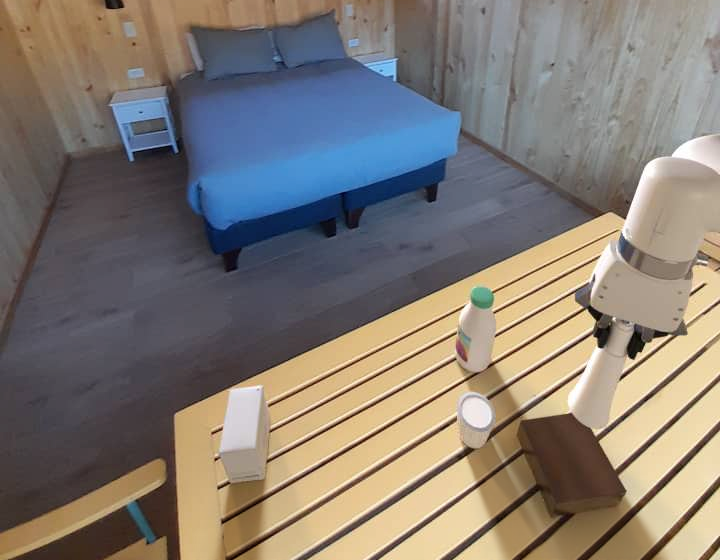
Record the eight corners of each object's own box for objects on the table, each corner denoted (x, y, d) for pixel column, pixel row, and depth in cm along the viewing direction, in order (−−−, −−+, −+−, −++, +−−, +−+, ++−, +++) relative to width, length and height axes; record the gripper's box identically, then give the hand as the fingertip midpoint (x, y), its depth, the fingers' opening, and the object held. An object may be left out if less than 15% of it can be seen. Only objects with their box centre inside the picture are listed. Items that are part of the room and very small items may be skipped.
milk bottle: (489, 345, 92) (501, 283, 83) (489, 377, 86) (503, 314, 76) (455, 337, 94) (463, 275, 85) (453, 368, 87) (461, 305, 78)
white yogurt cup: (446, 431, 77) (449, 410, 73) (466, 404, 81) (469, 383, 78) (478, 461, 72) (483, 441, 69) (497, 431, 77) (502, 410, 73)
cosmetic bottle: (613, 434, 63) (658, 344, 53) (571, 423, 64) (606, 333, 54) (603, 395, 68) (642, 306, 58) (564, 386, 69) (596, 297, 59)
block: (575, 426, 77) (581, 411, 75) (618, 506, 66) (627, 491, 64) (516, 435, 76) (520, 420, 74) (550, 517, 65) (556, 503, 63)
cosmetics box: (238, 419, 79) (229, 387, 74) (271, 415, 80) (264, 384, 75) (227, 484, 70) (216, 453, 65) (264, 480, 70) (256, 448, 66)
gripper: (727, 250, 50) (677, 345, 58) (579, 216, 56) (554, 305, 65) (748, 296, 44) (689, 394, 52) (580, 251, 50) (552, 345, 59)
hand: (614, 344), depth 58 cm, fingers closed on cosmetic bottle, 3 cm apart
